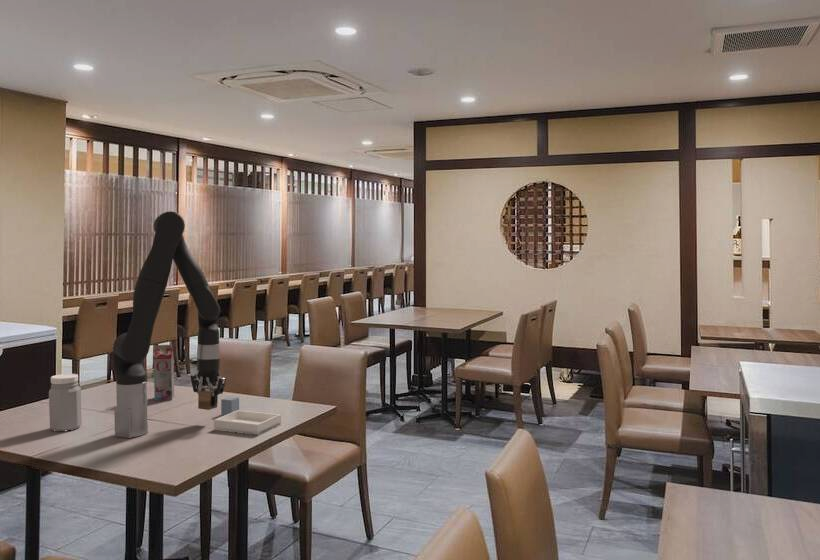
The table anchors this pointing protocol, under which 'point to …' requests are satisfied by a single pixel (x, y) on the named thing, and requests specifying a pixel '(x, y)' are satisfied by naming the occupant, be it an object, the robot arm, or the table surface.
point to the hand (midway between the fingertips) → (207, 405)
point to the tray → (247, 422)
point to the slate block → (229, 405)
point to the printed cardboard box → (163, 372)
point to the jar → (65, 402)
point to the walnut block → (205, 400)
